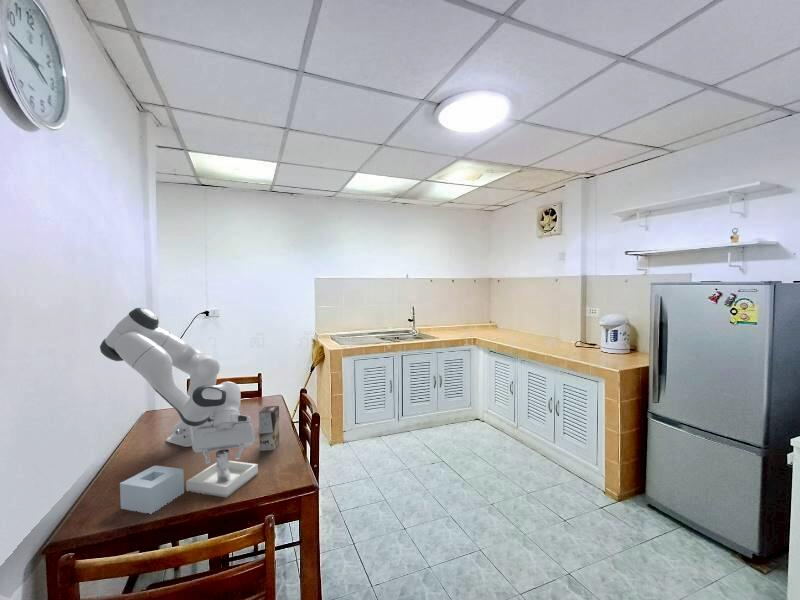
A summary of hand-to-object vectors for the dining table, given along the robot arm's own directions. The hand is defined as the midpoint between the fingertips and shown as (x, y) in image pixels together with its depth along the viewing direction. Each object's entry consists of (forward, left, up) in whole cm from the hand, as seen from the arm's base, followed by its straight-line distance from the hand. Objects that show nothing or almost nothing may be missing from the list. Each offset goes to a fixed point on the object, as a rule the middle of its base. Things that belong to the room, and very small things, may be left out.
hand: (222, 460), depth 129 cm
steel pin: (0, +1, -7) cm, 7 cm away
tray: (0, +1, -8) cm, 8 cm away
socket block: (-14, -14, -8) cm, 22 cm away
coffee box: (-2, +31, -8) cm, 32 cm away
